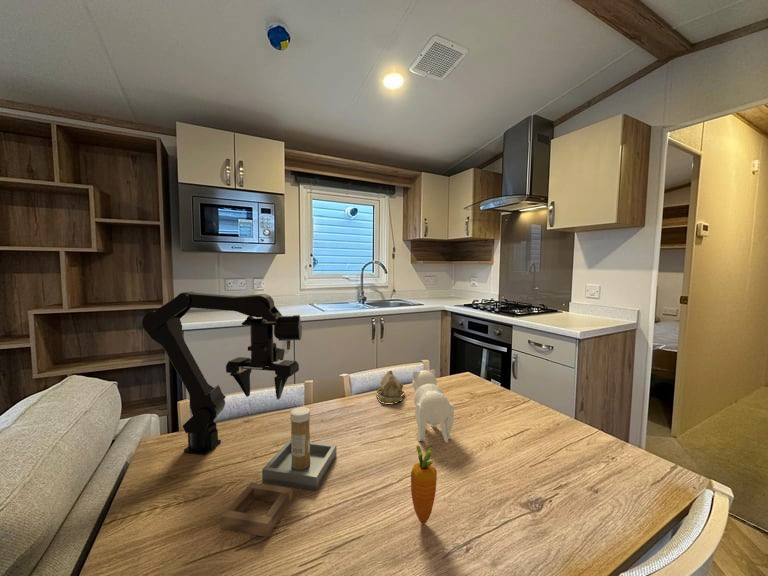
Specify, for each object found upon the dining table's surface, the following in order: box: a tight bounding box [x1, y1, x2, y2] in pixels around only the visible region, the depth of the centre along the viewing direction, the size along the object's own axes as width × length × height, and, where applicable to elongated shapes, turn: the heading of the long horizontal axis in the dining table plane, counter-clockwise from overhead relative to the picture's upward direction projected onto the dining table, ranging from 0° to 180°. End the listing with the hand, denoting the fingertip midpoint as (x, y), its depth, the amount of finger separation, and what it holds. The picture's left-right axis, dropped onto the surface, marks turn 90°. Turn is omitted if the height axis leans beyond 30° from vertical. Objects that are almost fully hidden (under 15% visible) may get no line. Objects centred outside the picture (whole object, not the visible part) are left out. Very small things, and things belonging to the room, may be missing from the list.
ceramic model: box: [376, 370, 405, 403], centre depth 121 cm, size 14×11×10 cm
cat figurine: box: [408, 369, 455, 443], centre depth 94 cm, size 25×10×17 cm, turn 12°
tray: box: [261, 438, 337, 491], centre depth 78 cm, size 13×13×3 cm
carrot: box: [410, 444, 438, 525], centre depth 61 cm, size 5×5×15 cm
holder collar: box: [220, 482, 293, 538], centre depth 63 cm, size 10×10×2 cm
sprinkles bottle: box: [289, 406, 311, 470], centre depth 77 cm, size 5×5×14 cm
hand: (263, 397), depth 88 cm, fingers open, 9 cm apart
